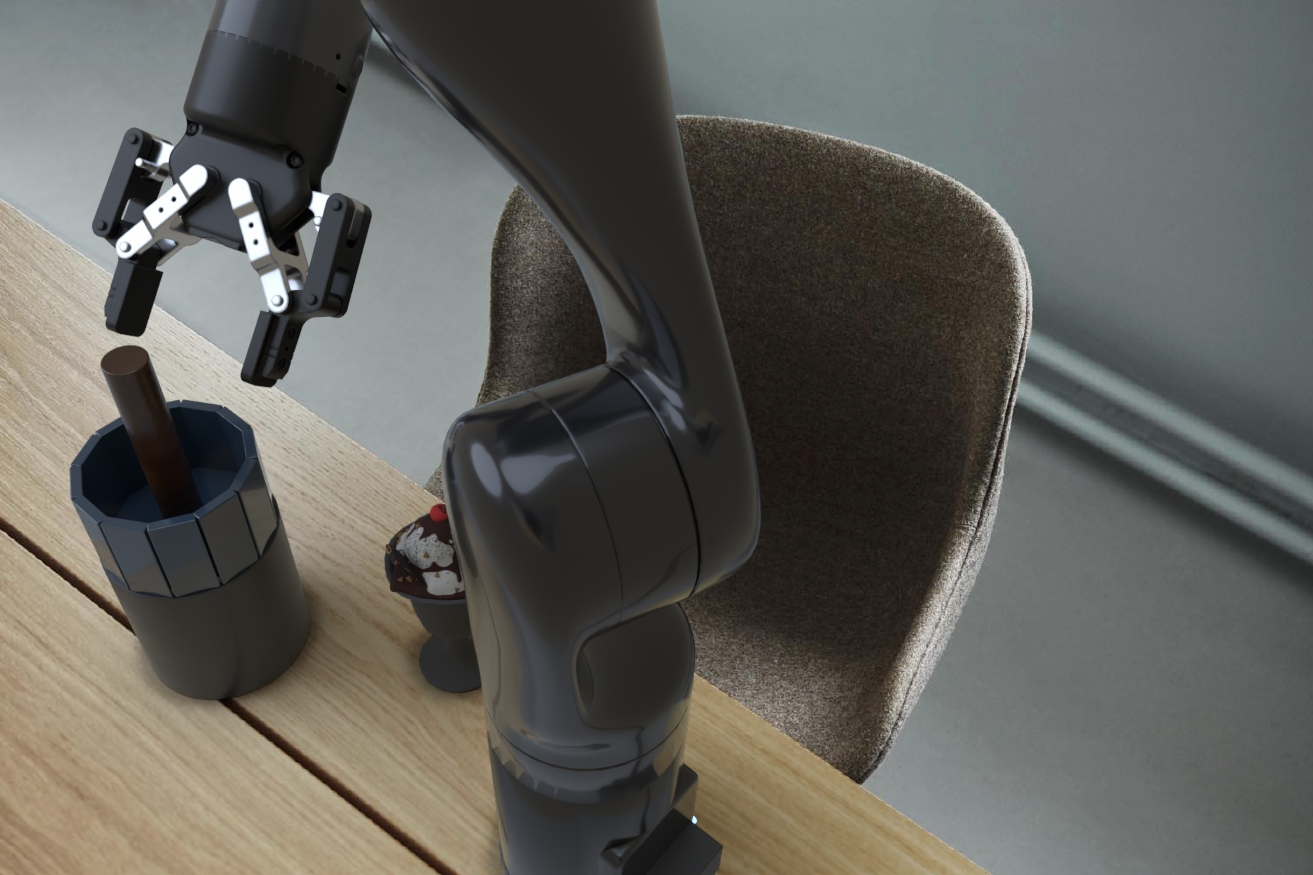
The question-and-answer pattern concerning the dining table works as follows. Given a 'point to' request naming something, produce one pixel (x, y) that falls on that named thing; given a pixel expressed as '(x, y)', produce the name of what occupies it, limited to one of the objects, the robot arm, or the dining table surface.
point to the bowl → (190, 543)
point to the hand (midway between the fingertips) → (189, 358)
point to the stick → (151, 429)
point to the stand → (225, 627)
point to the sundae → (435, 598)
